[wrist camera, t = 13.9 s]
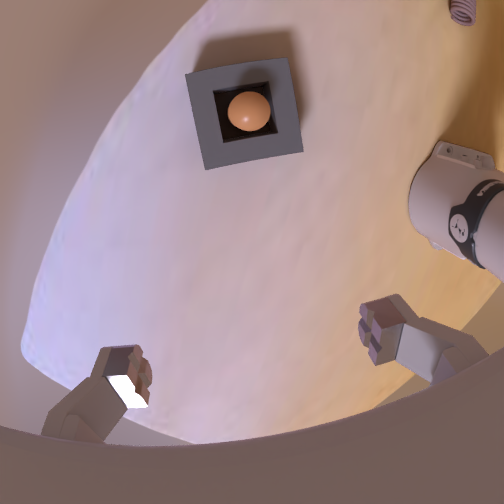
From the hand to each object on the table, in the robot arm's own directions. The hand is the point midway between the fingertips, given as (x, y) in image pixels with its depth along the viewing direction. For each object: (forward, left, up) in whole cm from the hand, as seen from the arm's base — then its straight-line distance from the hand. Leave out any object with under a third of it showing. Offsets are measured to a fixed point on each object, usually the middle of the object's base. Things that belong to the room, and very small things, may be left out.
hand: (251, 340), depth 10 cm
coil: (-45, -31, -30) cm, 63 cm away
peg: (-3, -8, -30) cm, 31 cm away
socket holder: (-3, -8, -30) cm, 31 cm away
